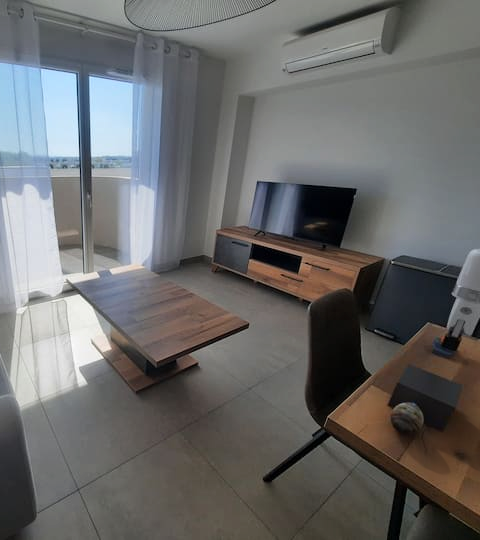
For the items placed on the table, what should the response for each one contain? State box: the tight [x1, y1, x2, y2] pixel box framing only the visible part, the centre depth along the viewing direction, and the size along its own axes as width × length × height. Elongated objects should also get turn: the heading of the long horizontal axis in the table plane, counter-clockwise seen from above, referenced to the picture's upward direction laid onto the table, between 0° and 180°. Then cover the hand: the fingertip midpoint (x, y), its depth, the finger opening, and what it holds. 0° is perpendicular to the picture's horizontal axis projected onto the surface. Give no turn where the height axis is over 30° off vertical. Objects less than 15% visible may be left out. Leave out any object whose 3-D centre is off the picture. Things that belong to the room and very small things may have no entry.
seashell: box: [390, 403, 424, 436], centre depth 74 cm, size 10×6×8 cm, turn 125°
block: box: [431, 337, 456, 360], centre depth 104 cm, size 10×6×4 cm, turn 127°
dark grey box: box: [387, 363, 464, 433], centre depth 80 cm, size 12×11×8 cm
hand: (448, 348), depth 87 cm, fingers closed
